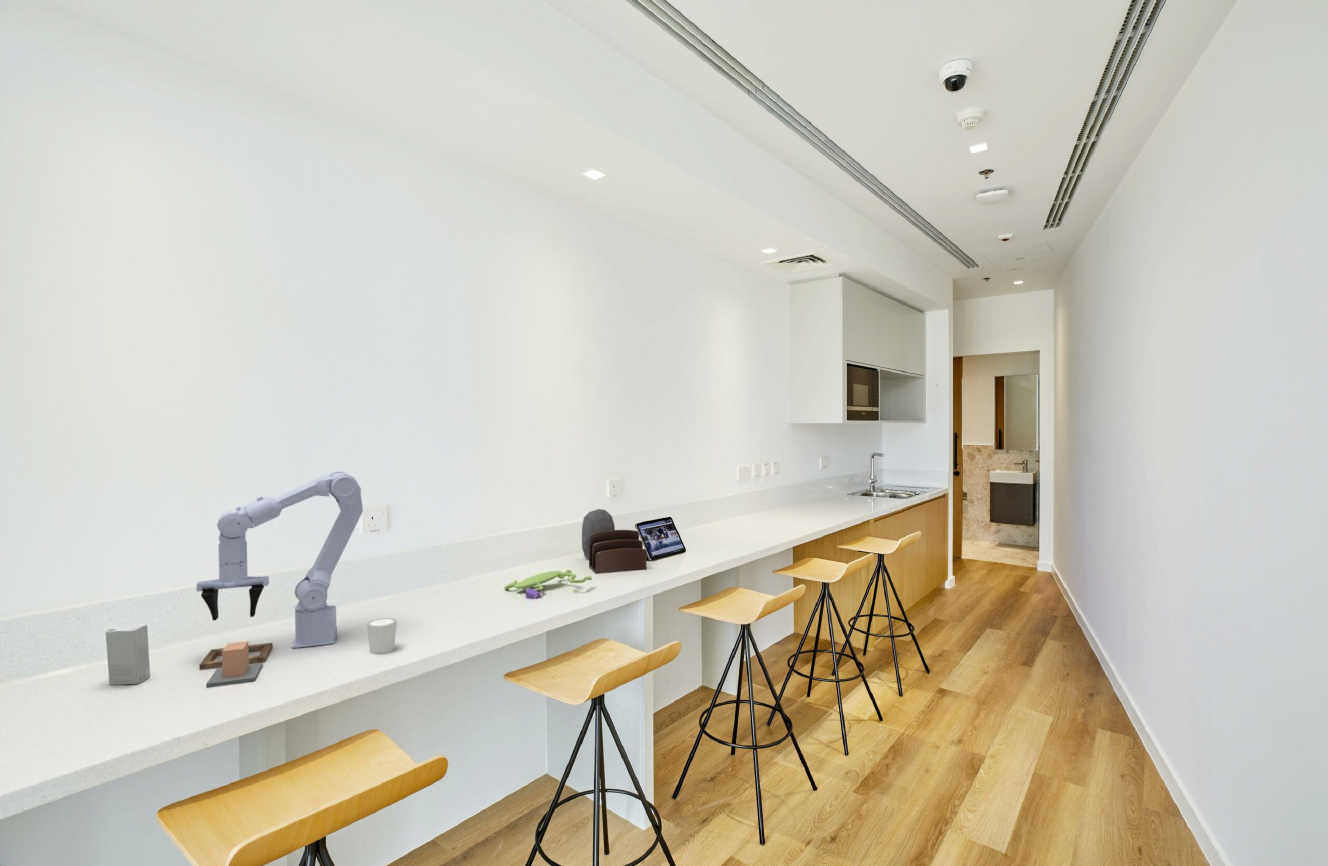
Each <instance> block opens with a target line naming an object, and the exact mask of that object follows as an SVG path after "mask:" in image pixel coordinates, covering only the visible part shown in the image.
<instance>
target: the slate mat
mask: <svg viewBox="0 0 1328 866" xmlns="http://www.w3.org/2000/svg"><path fill="white" fill-rule="evenodd" d="M263 667H264V662H261V663H253V664H249V668H248V669H247V671H246V672H245V674H244V675H243V676H235V677H227V678H222V667H220V668H215V669H216V670H215V671H214V672H213V673H212V674H211V677H209V679H208V681H207V682H206V686H205V687H206V688H212V687H221V686H228V685H229V686H230V685H236V684H243V683H252V682H255V681H256V680H257V678H258V676H259V675H258V674H260V672H261V671H262V669H263Z"/></svg>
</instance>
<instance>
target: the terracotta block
mask: <svg viewBox="0 0 1328 866" xmlns="http://www.w3.org/2000/svg"><path fill="white" fill-rule="evenodd" d="M248 645H249V641H248V640H247V641H237V642H229V643H227V644H226V645H225V646H224V647H223V648H224V649H223V650H222V655H221V660H222V667H221V668H222V678H227V677H235V676H243V675H244V674H245V672H246V671H247V669H248V668H249V657H250V656H249V653H250V652H249V649H248Z"/></svg>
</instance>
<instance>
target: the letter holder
mask: <svg viewBox="0 0 1328 866" xmlns="http://www.w3.org/2000/svg"><path fill="white" fill-rule="evenodd" d="M643 546H644V544H643V541H642V540H641V539H640V533H639V531H638V530H633V529H615V530H610V531H602V532H597V533H592V534H591V535H590V536H589V559H588V567H589V569H590V570H591V571H592V572H593V573H594V574H595V575H598V574H608V573H609V574H610V573H618V572H620V573H622V572H632V571H633V572H634V571H643V570H644V571H645V570H646V571H647V569H648V567H647V566H648V565H647V564H648V563H647V550H646V549H645V548H644V547H643Z"/></svg>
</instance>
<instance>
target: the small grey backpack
mask: <svg viewBox="0 0 1328 866" xmlns="http://www.w3.org/2000/svg"><path fill="white" fill-rule="evenodd" d="M610 530H616V527H615V522H614V519H613V516H612V514H611V513H610V512H608V511H607V510H606V509H601V508H598V509H595V510H591V511H588V512H587V514H586V515H585V516H584V517H583V520H582V526H581V549H582V552H583V555H584V558H585V559H588V560H589V536H590V535H591V534H592V533H597V532H602V531H610Z"/></svg>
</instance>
